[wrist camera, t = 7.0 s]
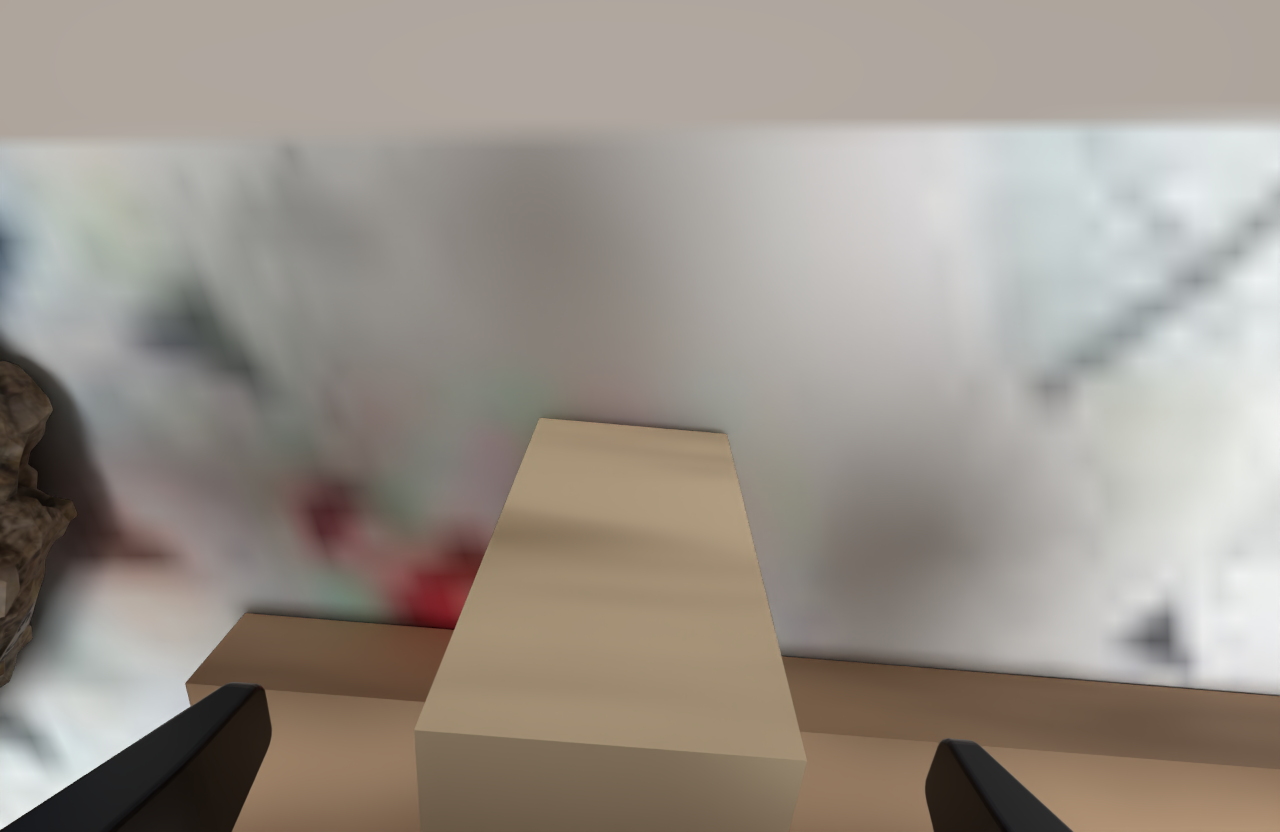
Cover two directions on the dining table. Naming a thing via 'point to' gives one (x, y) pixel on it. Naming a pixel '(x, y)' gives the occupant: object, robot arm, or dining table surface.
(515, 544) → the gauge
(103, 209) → the dining table surface
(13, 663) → the brown rock
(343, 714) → the board
